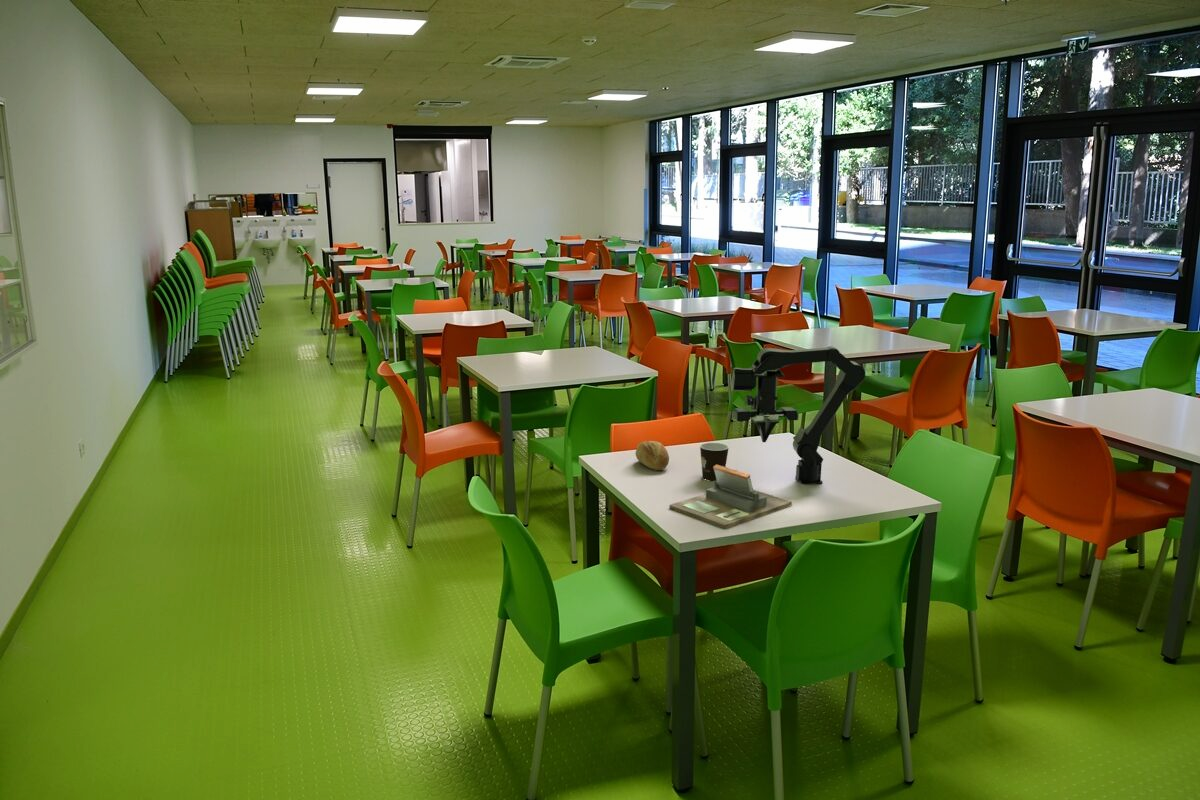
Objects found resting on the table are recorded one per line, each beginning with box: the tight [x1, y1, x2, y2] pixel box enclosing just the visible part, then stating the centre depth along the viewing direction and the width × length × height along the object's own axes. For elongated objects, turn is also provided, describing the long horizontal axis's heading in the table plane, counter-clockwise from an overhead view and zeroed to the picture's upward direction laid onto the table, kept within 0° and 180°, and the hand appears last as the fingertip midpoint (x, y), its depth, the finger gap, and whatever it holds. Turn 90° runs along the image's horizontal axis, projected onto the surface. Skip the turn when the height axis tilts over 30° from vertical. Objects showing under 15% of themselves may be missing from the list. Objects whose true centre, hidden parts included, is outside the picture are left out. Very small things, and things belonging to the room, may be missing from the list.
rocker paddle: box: [713, 464, 754, 498], centre depth 239 cm, size 1×13×7 cm, turn 40°
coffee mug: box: [699, 442, 729, 482], centre depth 265 cm, size 12×9×10 cm
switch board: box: [668, 481, 793, 529], centre depth 239 cm, size 28×20×5 cm
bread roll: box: [635, 440, 670, 471], centre depth 276 cm, size 10×15×8 cm, turn 20°
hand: (763, 442), depth 260 cm, fingers closed
